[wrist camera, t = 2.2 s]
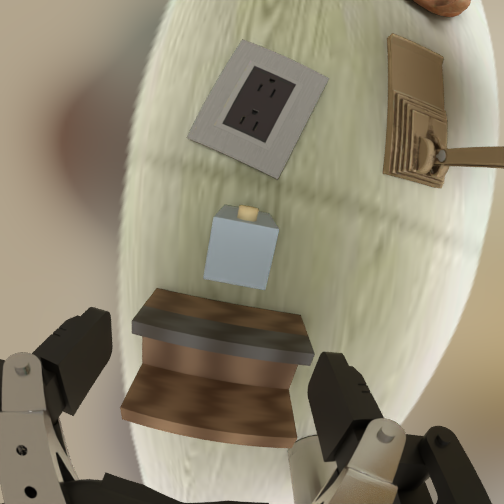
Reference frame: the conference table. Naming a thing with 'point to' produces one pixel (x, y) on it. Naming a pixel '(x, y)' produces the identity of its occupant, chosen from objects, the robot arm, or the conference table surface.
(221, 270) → the cabinet block
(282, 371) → the board
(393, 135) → the banker's lamp
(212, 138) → the electrical outlet
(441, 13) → the ceramic jug
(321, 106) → the conference table surface
